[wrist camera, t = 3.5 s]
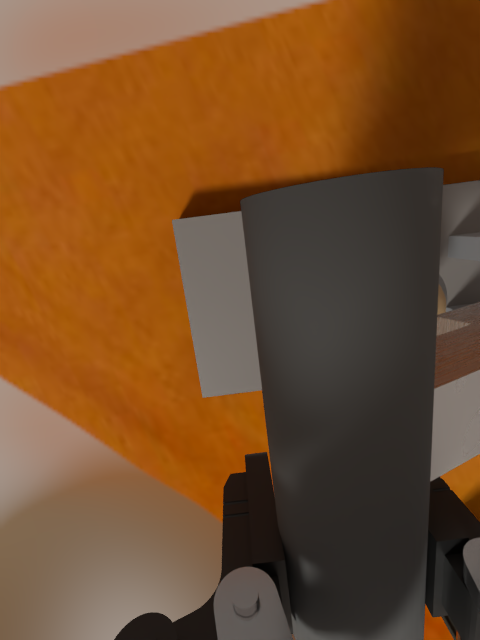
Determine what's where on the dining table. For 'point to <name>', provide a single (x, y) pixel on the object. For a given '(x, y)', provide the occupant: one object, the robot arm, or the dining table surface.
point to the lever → (359, 391)
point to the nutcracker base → (235, 295)
